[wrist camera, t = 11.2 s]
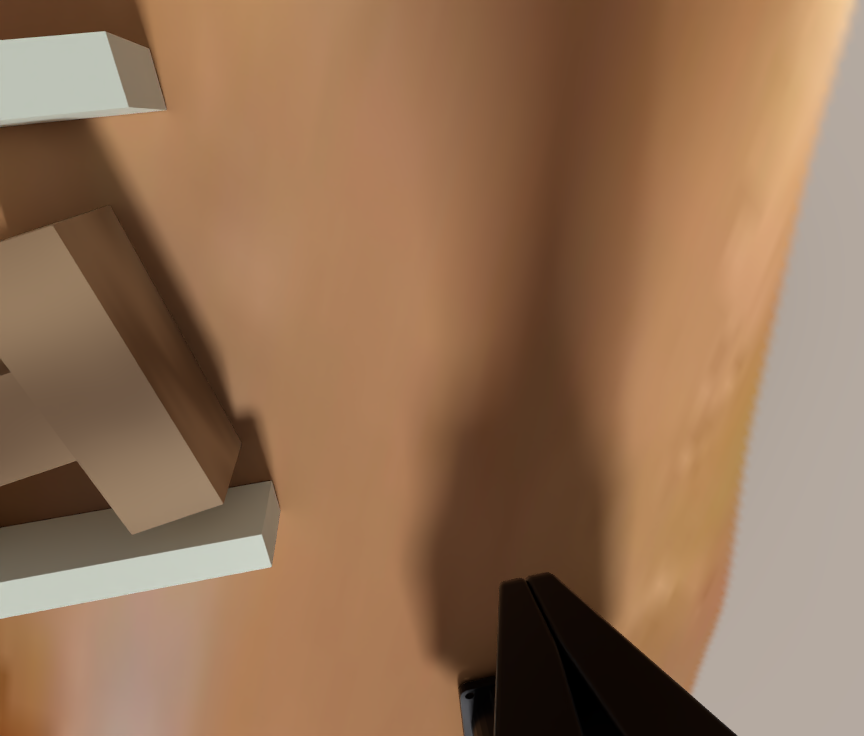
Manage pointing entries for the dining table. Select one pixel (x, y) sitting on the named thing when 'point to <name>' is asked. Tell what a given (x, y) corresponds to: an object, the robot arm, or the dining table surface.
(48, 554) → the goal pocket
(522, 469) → the dining table surface
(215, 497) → the t block
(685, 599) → the dining table surface
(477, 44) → the dining table surface
